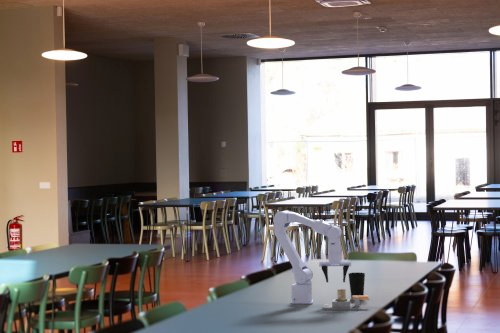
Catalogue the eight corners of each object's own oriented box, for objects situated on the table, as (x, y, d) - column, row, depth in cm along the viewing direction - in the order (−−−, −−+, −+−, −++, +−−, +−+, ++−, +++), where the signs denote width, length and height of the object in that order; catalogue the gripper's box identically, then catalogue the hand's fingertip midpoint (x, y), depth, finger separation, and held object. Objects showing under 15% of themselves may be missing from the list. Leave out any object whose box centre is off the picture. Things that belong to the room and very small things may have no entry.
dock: (322, 309, 348) (322, 298, 348) (324, 305, 358) (324, 294, 358) (359, 310, 346) (358, 298, 346) (360, 305, 355) (359, 294, 355)
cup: (353, 301, 368) (352, 275, 368) (346, 298, 375) (345, 273, 375) (368, 299, 370) (367, 274, 370) (361, 297, 377) (360, 272, 377)
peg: (337, 306, 350) (337, 290, 350) (337, 304, 354) (337, 289, 354) (346, 306, 350) (345, 290, 350) (346, 304, 353) (345, 289, 353)
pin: (352, 299, 350) (352, 296, 350) (352, 299, 352) (352, 295, 352) (368, 299, 349) (368, 296, 349) (368, 299, 351) (368, 295, 351)
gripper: (318, 253, 360) (319, 283, 360) (350, 253, 357) (351, 283, 357) (319, 251, 366) (320, 281, 367) (351, 251, 364) (352, 280, 364)
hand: (335, 282), depth 362 cm, fingers open, 7 cm apart
